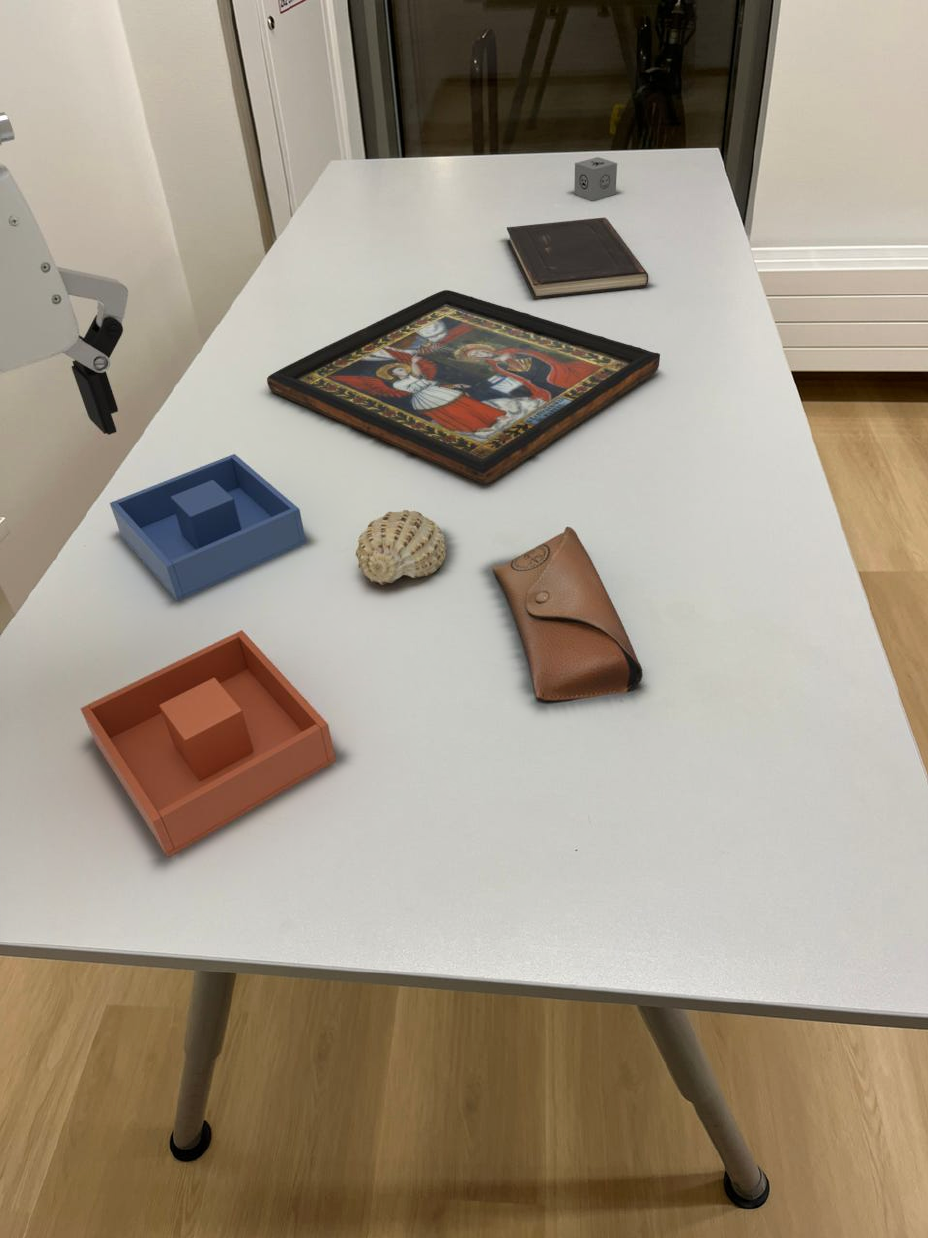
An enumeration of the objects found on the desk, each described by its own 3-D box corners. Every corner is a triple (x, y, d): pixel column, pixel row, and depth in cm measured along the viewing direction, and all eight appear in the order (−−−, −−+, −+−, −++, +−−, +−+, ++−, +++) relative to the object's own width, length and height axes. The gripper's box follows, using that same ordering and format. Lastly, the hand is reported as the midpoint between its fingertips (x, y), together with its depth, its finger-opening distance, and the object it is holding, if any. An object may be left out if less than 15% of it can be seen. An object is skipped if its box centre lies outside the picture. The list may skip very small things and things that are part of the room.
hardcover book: (534, 299, 131) (533, 282, 129) (507, 242, 148) (506, 226, 147) (647, 287, 132) (649, 270, 130) (607, 231, 149) (608, 216, 148)
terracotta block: (199, 781, 68) (184, 740, 65) (174, 746, 71) (158, 704, 68) (254, 751, 70) (242, 710, 67) (227, 718, 73) (214, 676, 70)
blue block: (201, 555, 89) (190, 516, 86) (181, 534, 91) (170, 496, 89) (243, 537, 91) (233, 498, 88) (223, 517, 93) (212, 479, 91)
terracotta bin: (168, 858, 64) (152, 822, 61) (96, 744, 72) (79, 708, 69) (336, 761, 69) (328, 724, 67) (252, 666, 78) (241, 629, 75)
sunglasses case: (485, 564, 85) (521, 505, 82) (550, 584, 88) (587, 528, 85) (536, 705, 72) (582, 641, 68) (611, 723, 75) (658, 663, 71)
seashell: (368, 566, 92) (353, 591, 82) (363, 504, 90) (347, 522, 80) (448, 563, 91) (443, 588, 82) (445, 501, 90) (439, 518, 80)
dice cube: (592, 200, 161) (593, 169, 157) (574, 193, 164) (574, 162, 161) (615, 194, 163) (617, 162, 159) (596, 187, 166) (597, 156, 163)
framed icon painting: (243, 407, 111) (238, 384, 110) (425, 300, 132) (424, 280, 130) (514, 501, 94) (513, 476, 92) (675, 361, 114) (677, 338, 113)
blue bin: (178, 602, 84) (166, 566, 82) (121, 536, 93) (109, 502, 90) (306, 543, 90) (299, 508, 88) (242, 486, 98) (234, 453, 96)
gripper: (52, 111, 54) (136, 387, 65) (-294, 181, 47) (-132, 479, 58) (101, 134, 49) (182, 427, 61) (-275, 217, 42) (-103, 533, 53)
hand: (29, 452), depth 59 cm, fingers open, 9 cm apart
